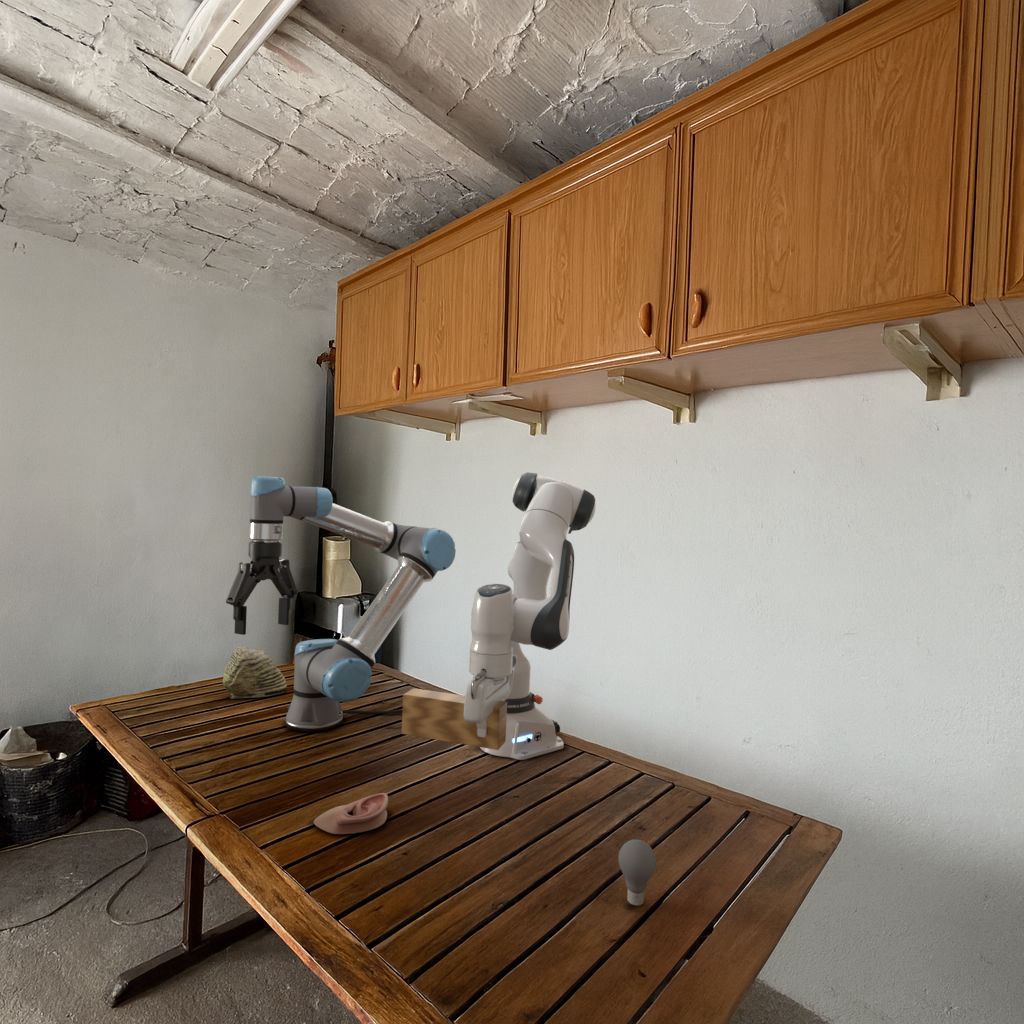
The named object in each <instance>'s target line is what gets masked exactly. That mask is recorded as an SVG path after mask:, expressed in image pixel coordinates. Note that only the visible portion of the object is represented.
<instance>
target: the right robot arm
mask: <svg viewBox="0 0 1024 1024" xmlns="http://www.w3.org/2000/svg"><path fill="white" fill-rule="evenodd" d="M511 493H512V495H511V496H512V497H511V498H512V504H513V505H514V507H515V508H516V509H518V510H519V511H521V512H525V513H524V515H523V518H522V521H521V522H520V526H519V532H518V535H519V537H518V538H517V542H516V544H515V548H514V550H513V552H512V556H511V559H510V561H509V563H508V567H507V574H508V576H509V578H510V579H511V581H512V582H513V589H512V588H511V586H509V585H506V584H501V583H490V584H484V585H482V586H480V587H478V588H477V589H476V591H475V593H474V598H473V603H472V608H471V615H470V616H471V618H470V631H471V635H472V636H471V637H472V639H471V642H470V646H469V665H468V667H469V668H468V672H469V674H471V675H473V677H472V679H471V680H469V682H468V683H467V686H466V689H465V695H464V696H465V704H464V719H465V721H466V722H471V723H476V725H477V735H478V736H479V737H485V736H486V735H487V734H488V727H487V722H486V721H487V719H488V716H489V715H490V714H491V713H492V712H493V708H494V707H495V706H496V705H497V704H498V703H499V702H500V701H505V702H507V719H506V740H505V743H504V744H503V745H502V746H501V747H500V748H499V750H494V749H488V748H483V747H479V749H480V750H481V751H482V752H485V753H486V754H488V755H491V756H492V755H493V756H496V757H503V758H510V759H514V760H518V761H525V760H528V759H532V758H535V757H538V756H542V755H546V754H549V753H552V752H556V751H559V750H563V749H564V748H565V742H564V740H563V739H562V738H561V737H560V736H558V734H559V733H560V732H561V727H560V725H559V723H558V721H555V719H551V718H550V717H549V716H548V715H547V714H546V713H544V712H543V711H542V710H540V708H538V707H537V706H536V704H537V705H541V704H542V703H543V701H544V699H543V697H542V696H541V695H539V694H534V693H533V692H531V690H530V689H531V671H532V670H531V669H532V668H531V667H532V666H531V663H530V660H529V658H528V657H527V656H526V654H525V653H524V652H523V650H522V648H521V645H525V646H534V647H536V648H541V649H545V650H549V651H552V650H554V649H556V648H558V647H560V645H562V644H563V643H564V642H565V641H567V639H568V636H569V632H570V619H571V618H570V617H571V616H570V610H571V600H572V599H571V597H572V590H573V589H572V588H573V582H574V581H573V579H574V573H575V572H574V571H575V550H574V547H573V544H572V542H571V541H570V540H568V537H567V536H568V535H570V534H572V532H575V531H581V530H583V529H584V528H586V527H587V526H588V524H589V523H591V522H592V520H593V518H594V516H595V514H596V498H595V495H594V494H593V493H591V492H590V491H588V490H586V489H582V488H579V487H577V486H576V485H573V484H571V483H569V482H567V481H563V480H558V479H555V478H553V477H549V476H544V475H540V474H538V473H537V472H525V473H523V474H521V475H520V477H519V478H518V479H517V480H516V481H515V483H514V485H513V487H512V492H511ZM551 571H552V572H551ZM550 575H551V579H550ZM549 579H550V586H549V593H548V594H547V592H548V591H547V589H548V582H549Z"/></svg>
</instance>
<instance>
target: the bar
mask: <svg viewBox="0 0 1024 1024" xmlns="http://www.w3.org/2000/svg"><path fill="white" fill-rule="evenodd" d="M464 704H465V695H464V694H456V693H450V692H444V691H443V692H442V691H435V690H430V689H429V690H428V689H421V688H415V687H413V688H411V689H409V690H408V691H407V692H405V693H403V694H402V709H403V711H402V713H401V715H402V717H401V734H402V735H407V736H413V737H419V738H425V739H430V740H436V741H442V742H449V743H453V744H460V745H465V746H471V747H478V748H480V747H483V748H488V749H494V750H499V748H500V747H501V746H502V745H503V744H504V743H505V740H506V719H507V702H505V701H500V702H499V703H498V704H497V705H496V706H495V707H494V708H493V712H492V713H491V714H490V715H489V716H488V719H487V721H486V722H487V727H488V734H487V735H486V736H485V737H479V736H478V735H477V725H476V723H471V722H466V721H465V719H464Z"/></svg>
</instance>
